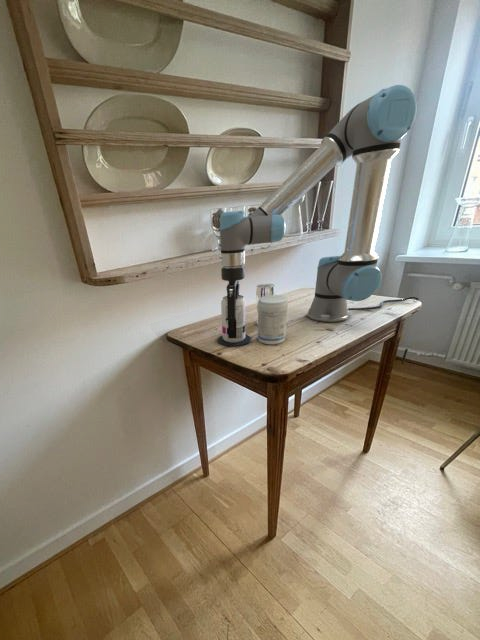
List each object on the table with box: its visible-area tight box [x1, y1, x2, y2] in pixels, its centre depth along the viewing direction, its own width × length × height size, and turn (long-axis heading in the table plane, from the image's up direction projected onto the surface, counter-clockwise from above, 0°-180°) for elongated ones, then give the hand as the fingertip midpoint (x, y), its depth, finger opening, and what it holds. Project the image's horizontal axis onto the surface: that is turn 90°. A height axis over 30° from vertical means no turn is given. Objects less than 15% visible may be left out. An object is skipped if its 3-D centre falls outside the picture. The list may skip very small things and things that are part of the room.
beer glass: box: [255, 283, 275, 326], centre depth 117 cm, size 7×7×15 cm
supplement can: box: [220, 294, 246, 343], centre depth 105 cm, size 8×8×15 cm
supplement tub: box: [257, 294, 289, 345], centre depth 102 cm, size 10×10×15 cm
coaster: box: [217, 333, 252, 347], centre depth 109 cm, size 12×12×1 cm
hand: (233, 333), depth 107 cm, fingers closed on supplement can, 8 cm apart
